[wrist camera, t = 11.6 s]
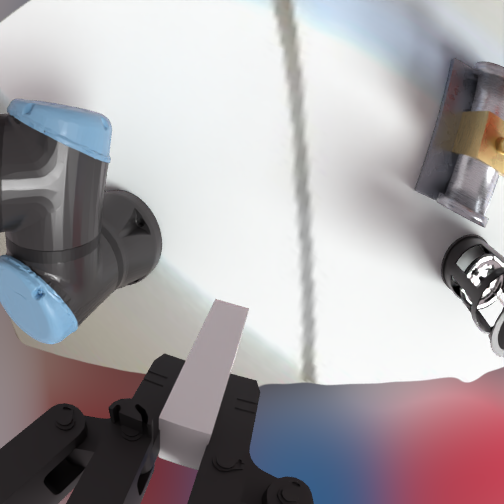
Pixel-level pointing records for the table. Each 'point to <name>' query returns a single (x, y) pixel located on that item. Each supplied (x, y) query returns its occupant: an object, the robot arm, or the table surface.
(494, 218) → the table surface
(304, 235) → the table surface
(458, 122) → the valve body
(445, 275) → the french press
